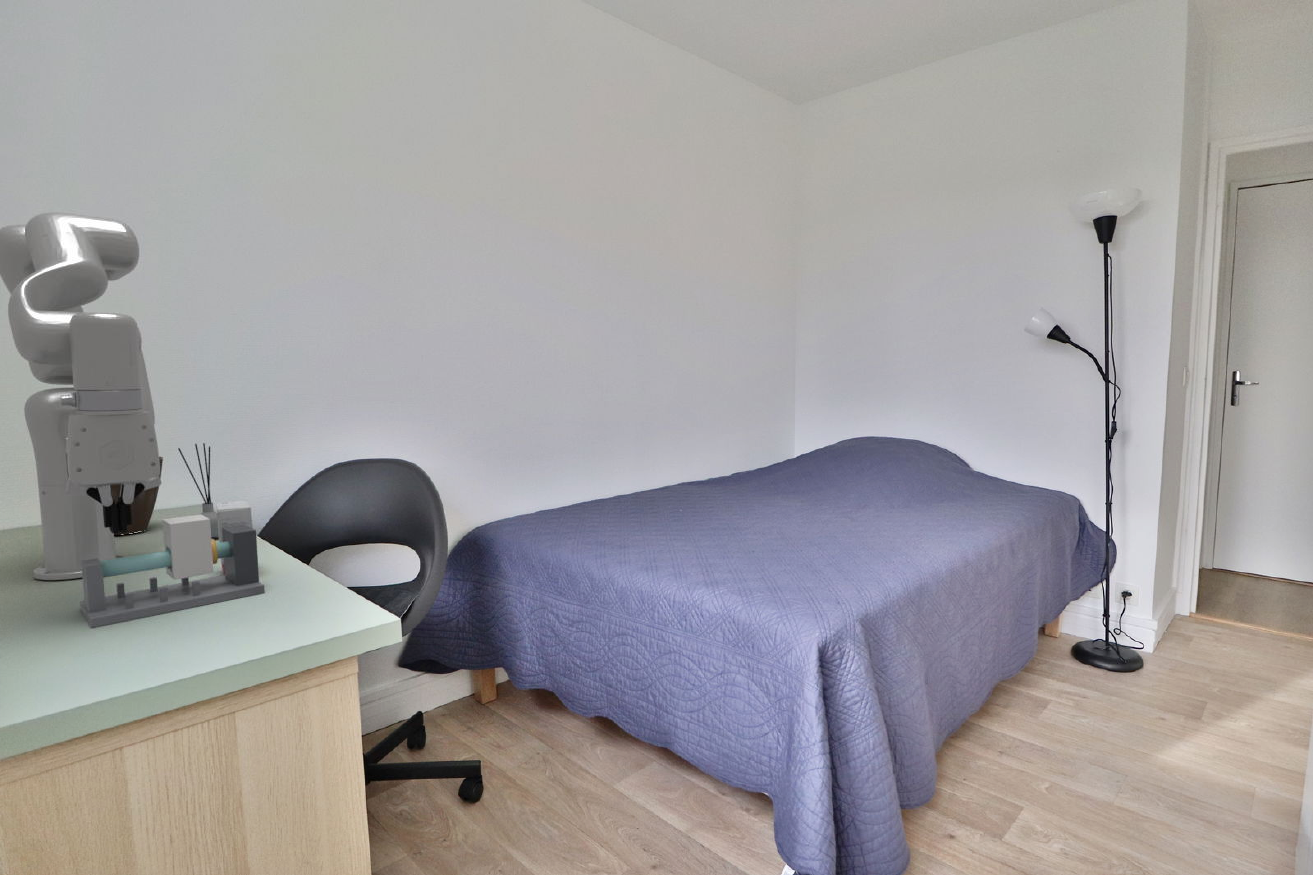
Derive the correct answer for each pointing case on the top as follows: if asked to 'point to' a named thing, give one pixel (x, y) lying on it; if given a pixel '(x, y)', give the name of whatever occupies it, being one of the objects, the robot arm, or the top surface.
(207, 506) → the reed diffuser
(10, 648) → the top surface
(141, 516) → the plant pot
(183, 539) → the sleeve
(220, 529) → the ink box
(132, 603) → the motor shaft test rig
